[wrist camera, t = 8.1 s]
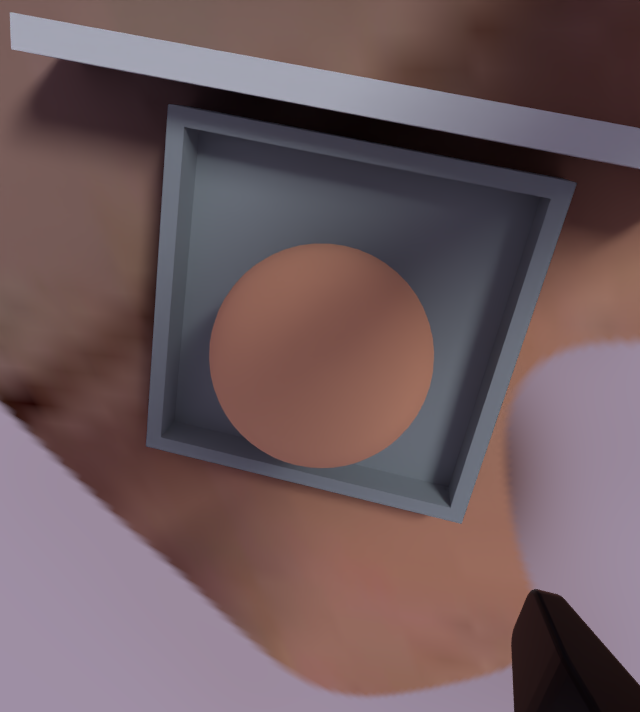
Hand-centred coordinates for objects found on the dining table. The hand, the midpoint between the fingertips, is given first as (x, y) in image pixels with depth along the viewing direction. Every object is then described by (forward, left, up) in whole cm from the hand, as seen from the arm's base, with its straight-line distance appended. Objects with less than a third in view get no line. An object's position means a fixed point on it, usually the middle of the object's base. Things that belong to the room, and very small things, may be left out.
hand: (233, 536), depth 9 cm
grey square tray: (0, 0, -11) cm, 11 cm away
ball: (0, 0, -10) cm, 10 cm away
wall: (0, -7, -11) cm, 13 cm away
